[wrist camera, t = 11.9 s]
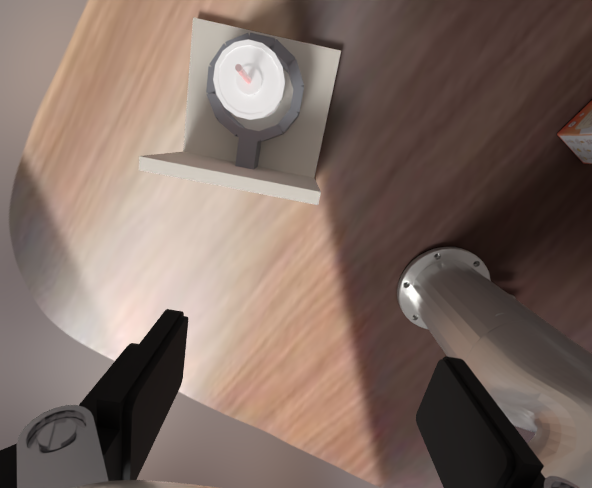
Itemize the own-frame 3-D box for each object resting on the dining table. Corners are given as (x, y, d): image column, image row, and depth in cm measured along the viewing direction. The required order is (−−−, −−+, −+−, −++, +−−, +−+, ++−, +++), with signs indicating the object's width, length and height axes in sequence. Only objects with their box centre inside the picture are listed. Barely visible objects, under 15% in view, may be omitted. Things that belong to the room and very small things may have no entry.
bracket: (339, 53, 34) (360, 11, 23) (311, 186, 39) (318, 205, 28) (196, 21, 33) (145, -40, 22) (185, 161, 38) (138, 170, 27)
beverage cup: (260, 136, 36) (240, 133, 23) (222, 94, 35) (176, 65, 21) (298, 97, 35) (300, 70, 22) (260, 51, 33) (236, -8, 20)
